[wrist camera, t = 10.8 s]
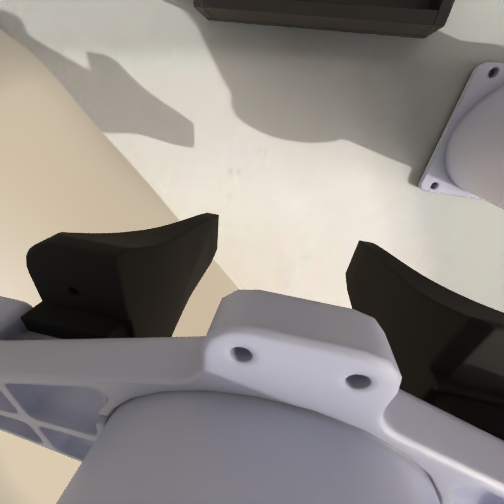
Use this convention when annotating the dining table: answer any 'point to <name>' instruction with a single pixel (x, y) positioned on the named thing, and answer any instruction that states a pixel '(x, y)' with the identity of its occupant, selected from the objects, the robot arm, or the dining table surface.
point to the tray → (335, 14)
